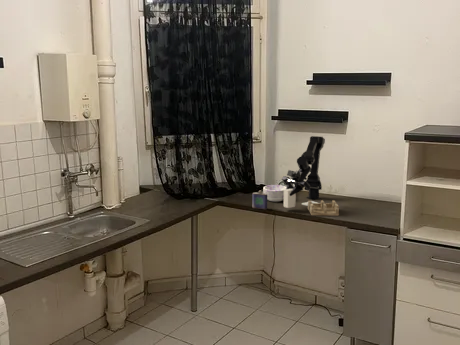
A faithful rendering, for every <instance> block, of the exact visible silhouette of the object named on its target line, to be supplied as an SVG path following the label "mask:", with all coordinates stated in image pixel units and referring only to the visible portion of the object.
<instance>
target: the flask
mask: <svg viewBox="0 0 460 345" xmlns="http://www.w3.org/2000/svg"><path fill="white" fill-rule="evenodd" d="M252 209H257V210H258V209H260V210H268V200H267V194H265V193H263V191H262V189H261V190H258V192H252Z"/></svg>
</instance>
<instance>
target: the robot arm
mask: <svg viewBox="0 0 460 345" xmlns="http://www.w3.org/2000/svg"><path fill="white" fill-rule="evenodd" d="M325 144H326V140H325V137H323V136H315V135H311V136H310V137H309V142H308V144H307V148H306V150H305V151H304V152H303V153H302V154H301V156H299V157H298V158H297V159H296V164H297V167H298V170H296V171H294V170H290V169H288V171H287V173H286V176H284V175H283V177H282V178H281V180H282V182H283V183H284V184H285V185H286V187H287V188H286V189H291V188H292V189H293V190H292V191H291V193H290V196H292V195H294V194H296V195H297V193H299V192H301V191H304V190H305V191H308V196H306V199H308V200H311V201H314V200H321V197H320V191H321V190H322V189H323V188H322V187H323V186H322V182H321V181H322V180H321V177H320V175H319V168H320V167H319V166H320V156H321V150H322V149H323V148H324V146H325ZM293 185H294V186H293Z"/></svg>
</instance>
